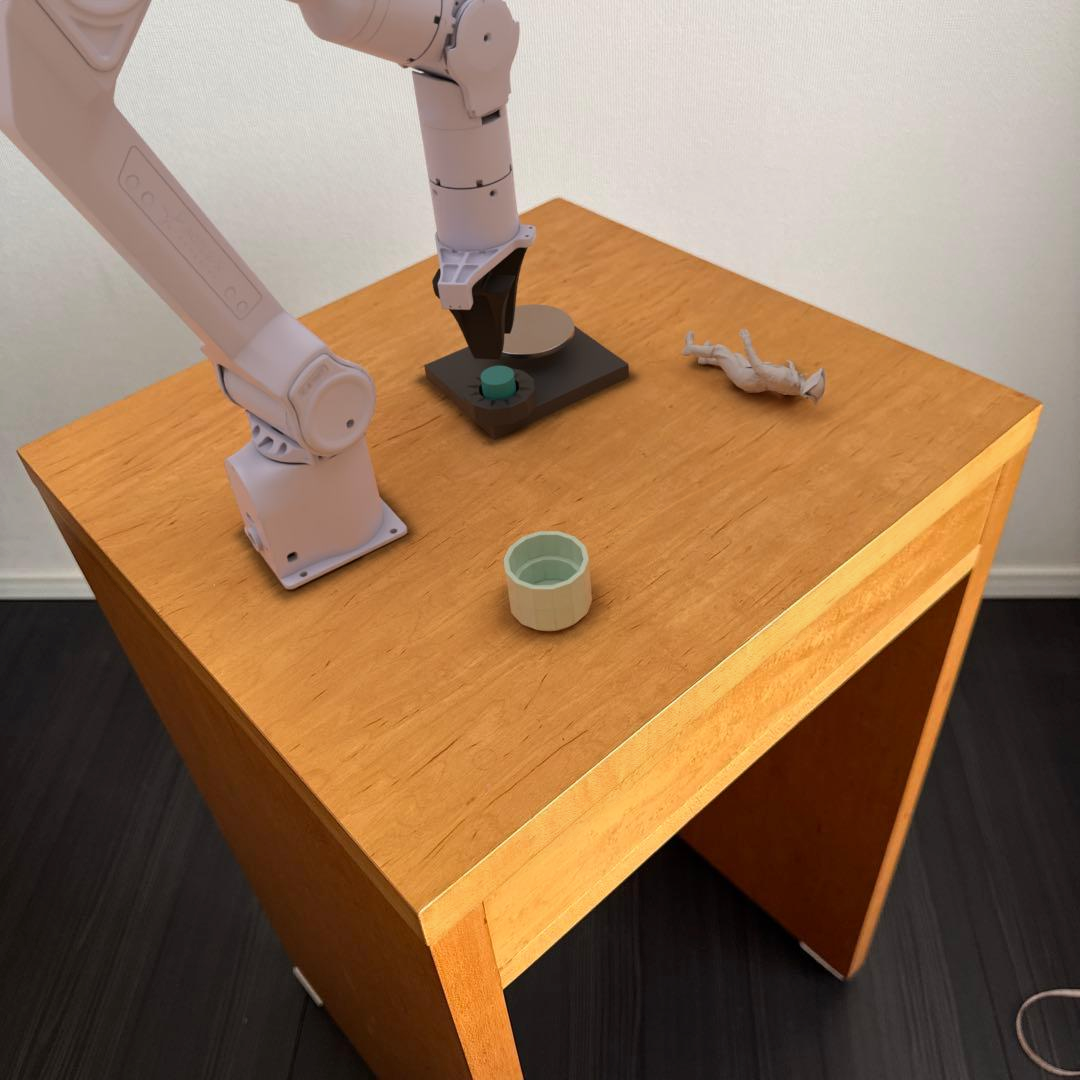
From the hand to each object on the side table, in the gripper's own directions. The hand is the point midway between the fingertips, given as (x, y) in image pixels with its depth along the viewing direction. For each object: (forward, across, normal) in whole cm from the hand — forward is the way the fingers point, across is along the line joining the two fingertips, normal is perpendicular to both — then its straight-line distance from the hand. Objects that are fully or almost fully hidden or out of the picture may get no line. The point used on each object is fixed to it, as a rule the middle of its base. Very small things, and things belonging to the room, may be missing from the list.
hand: (493, 343), depth 84 cm
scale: (+7, +6, -1) cm, 9 cm away
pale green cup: (+7, -20, -8) cm, 22 cm away
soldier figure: (+7, +6, -19) cm, 21 cm away
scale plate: (+4, +8, -1) cm, 9 cm away
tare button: (+4, 0, 0) cm, 4 cm away
